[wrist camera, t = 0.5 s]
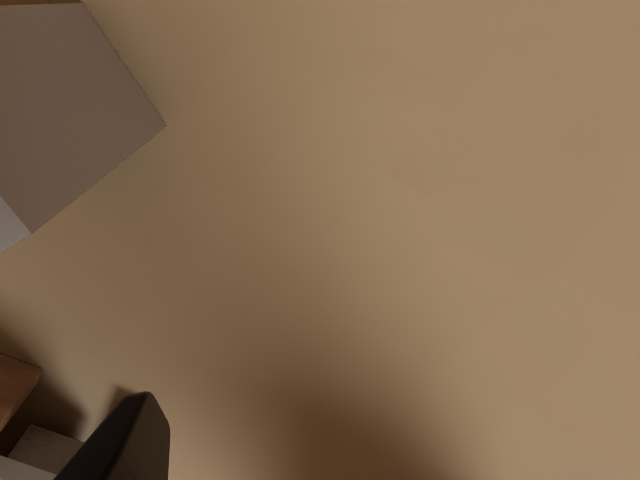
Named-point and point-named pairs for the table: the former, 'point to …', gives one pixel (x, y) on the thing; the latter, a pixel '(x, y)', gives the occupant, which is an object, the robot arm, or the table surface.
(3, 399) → the trapdoor frame
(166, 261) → the table surface
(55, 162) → the tall grey rectangular block
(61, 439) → the trapdoor
